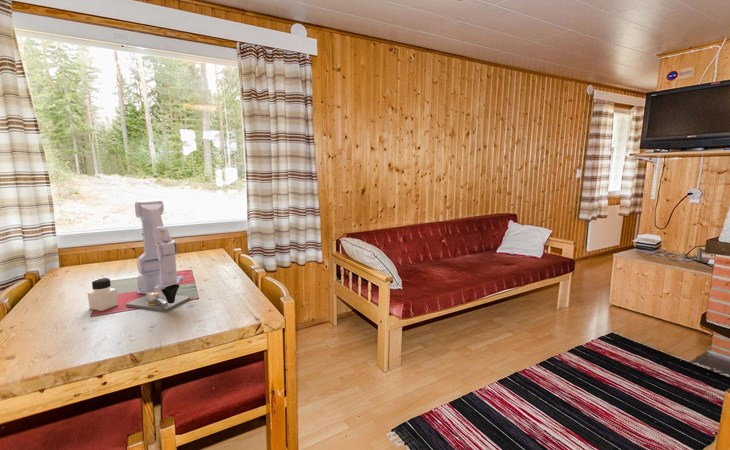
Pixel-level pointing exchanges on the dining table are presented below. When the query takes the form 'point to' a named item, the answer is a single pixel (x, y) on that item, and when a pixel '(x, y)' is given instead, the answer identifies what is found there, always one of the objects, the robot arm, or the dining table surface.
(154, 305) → the board
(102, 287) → the medicine bottle
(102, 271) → the dining table surface
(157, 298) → the tan piece
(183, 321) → the dining table surface
